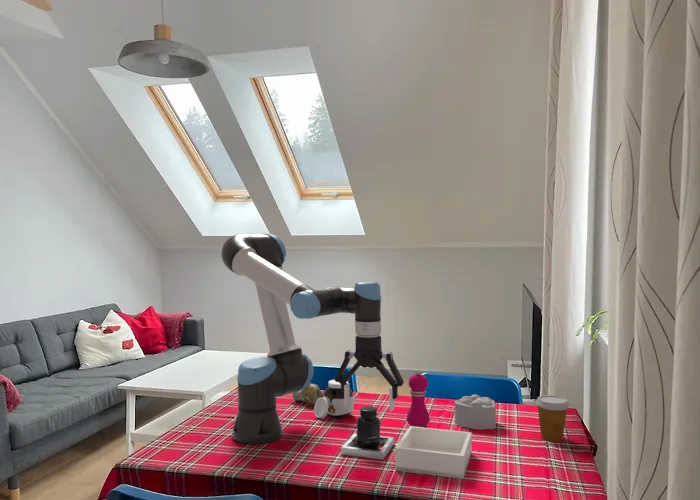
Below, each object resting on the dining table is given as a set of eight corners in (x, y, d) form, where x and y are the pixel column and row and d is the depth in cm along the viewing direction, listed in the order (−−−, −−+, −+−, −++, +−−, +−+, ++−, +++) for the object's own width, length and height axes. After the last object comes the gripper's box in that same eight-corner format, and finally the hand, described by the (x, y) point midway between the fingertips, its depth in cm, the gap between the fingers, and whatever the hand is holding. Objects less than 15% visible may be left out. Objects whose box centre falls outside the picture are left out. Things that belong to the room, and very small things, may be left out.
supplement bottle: (372, 455, 165) (372, 413, 164) (352, 450, 168) (352, 409, 168) (384, 447, 171) (384, 407, 170) (364, 443, 174) (364, 403, 174)
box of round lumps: (496, 430, 185) (496, 403, 185) (454, 428, 187) (454, 401, 187) (493, 419, 195) (494, 394, 195) (454, 417, 198) (454, 392, 197)
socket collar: (341, 454, 166) (341, 447, 166) (354, 439, 177) (354, 432, 177) (383, 459, 162) (383, 452, 162) (394, 443, 174) (394, 437, 173)
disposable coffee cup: (569, 435, 181) (570, 396, 180) (567, 445, 172) (567, 405, 171) (537, 430, 185) (538, 393, 184) (533, 440, 176) (534, 401, 175)
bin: (395, 470, 155) (395, 447, 155) (409, 446, 172) (409, 425, 172) (463, 479, 149) (463, 456, 149) (471, 453, 166) (471, 432, 166)
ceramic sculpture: (302, 373, 223) (334, 381, 215) (301, 395, 224) (333, 404, 216) (284, 379, 214) (317, 388, 206) (283, 402, 215) (316, 412, 207)
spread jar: (356, 414, 201) (356, 381, 201) (338, 424, 192) (338, 389, 191) (328, 408, 208) (328, 376, 207) (309, 417, 198) (309, 383, 198)
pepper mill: (428, 437, 179) (428, 372, 178) (405, 435, 180) (405, 371, 180) (430, 429, 186) (430, 367, 185) (407, 427, 187) (407, 366, 187)
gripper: (323, 335, 169) (324, 408, 169) (407, 339, 161) (408, 415, 161) (332, 331, 176) (333, 401, 176) (413, 334, 168) (414, 407, 169)
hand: (369, 408), depth 169 cm, fingers open, 13 cm apart
